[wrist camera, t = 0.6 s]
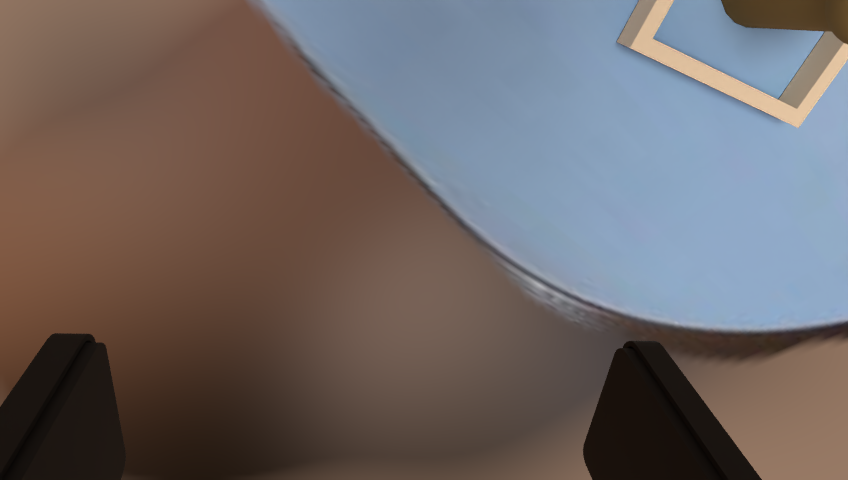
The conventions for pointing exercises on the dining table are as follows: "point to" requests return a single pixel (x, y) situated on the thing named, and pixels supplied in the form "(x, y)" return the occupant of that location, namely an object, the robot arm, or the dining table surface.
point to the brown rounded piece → (791, 15)
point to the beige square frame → (786, 108)
